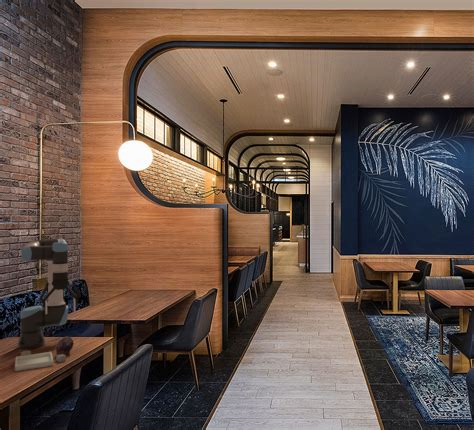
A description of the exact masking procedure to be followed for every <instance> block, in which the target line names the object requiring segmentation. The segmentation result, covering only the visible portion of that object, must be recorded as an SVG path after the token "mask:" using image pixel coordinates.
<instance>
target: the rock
mask: <svg viewBox="0 0 474 430" xmlns="http://www.w3.org/2000/svg"><path fill="white" fill-rule="evenodd" d="M73 347H74V340H73V339H72V337H71V336H66V335H65V336H63V337H62V338H61V339H59V340H58V342H57V345H56V346H55V351H56V355H61V354H64V355H67V354H70V352H71V350H72V349H73Z"/></svg>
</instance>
